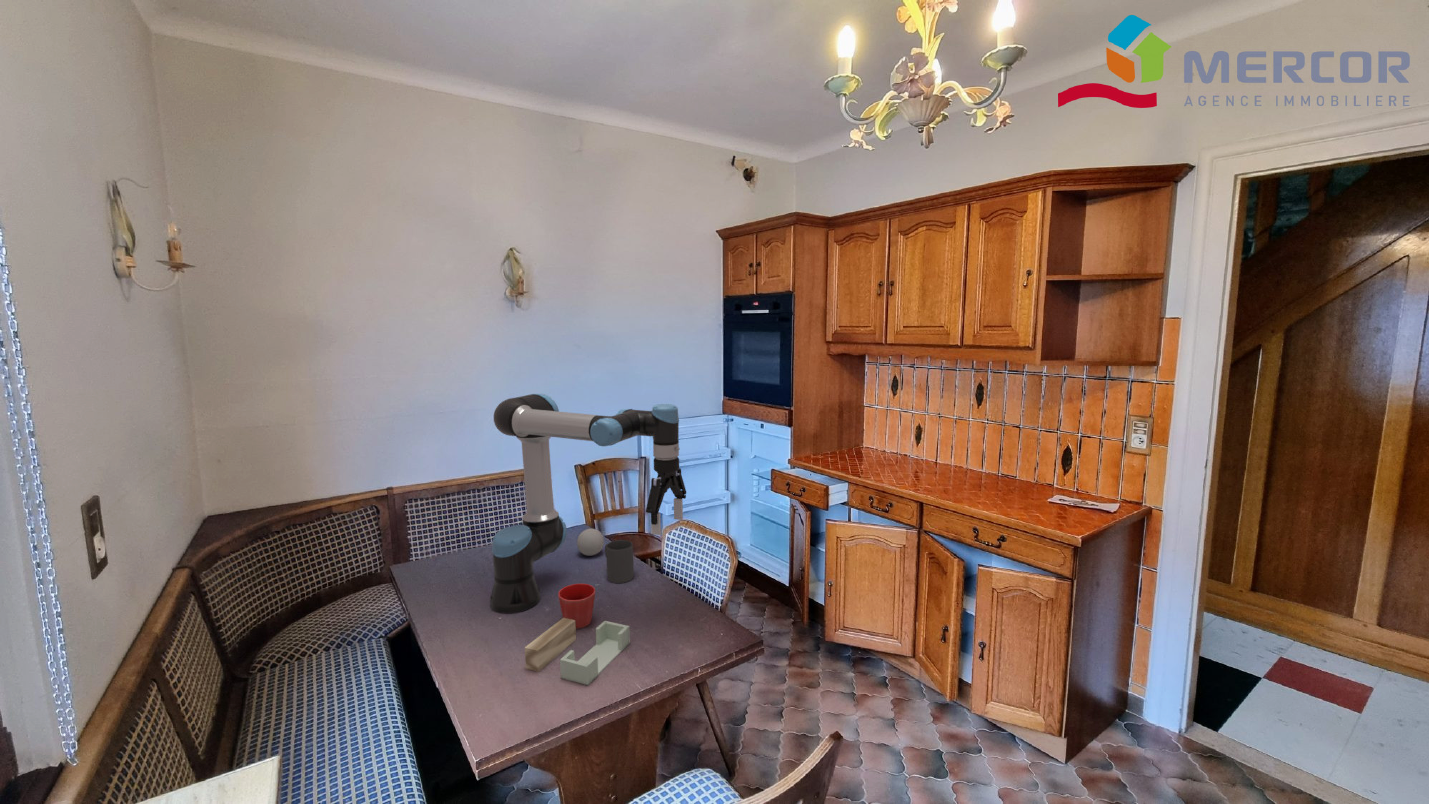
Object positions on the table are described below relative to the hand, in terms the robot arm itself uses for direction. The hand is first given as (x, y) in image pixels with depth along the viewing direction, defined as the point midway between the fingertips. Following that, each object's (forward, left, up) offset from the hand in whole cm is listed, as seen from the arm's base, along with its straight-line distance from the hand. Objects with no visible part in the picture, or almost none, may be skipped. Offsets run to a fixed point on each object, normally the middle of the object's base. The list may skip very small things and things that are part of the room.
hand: (667, 526), depth 172 cm
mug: (-28, +16, -28) cm, 43 cm away
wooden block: (-19, -31, -28) cm, 46 cm away
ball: (-47, +28, -28) cm, 61 cm away
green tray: (-6, -29, -27) cm, 41 cm away
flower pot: (-22, -15, -28) cm, 39 cm away
